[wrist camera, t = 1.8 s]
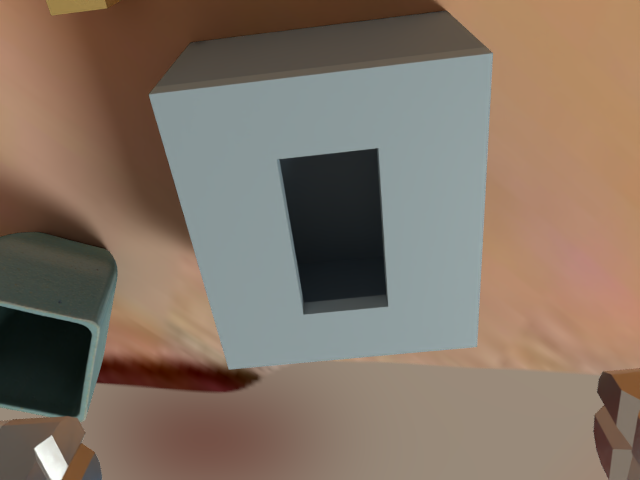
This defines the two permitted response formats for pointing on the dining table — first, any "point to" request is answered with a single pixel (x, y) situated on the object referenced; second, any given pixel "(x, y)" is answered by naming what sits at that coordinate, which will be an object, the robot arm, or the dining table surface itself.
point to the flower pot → (52, 322)
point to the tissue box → (334, 185)
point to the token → (77, 5)
